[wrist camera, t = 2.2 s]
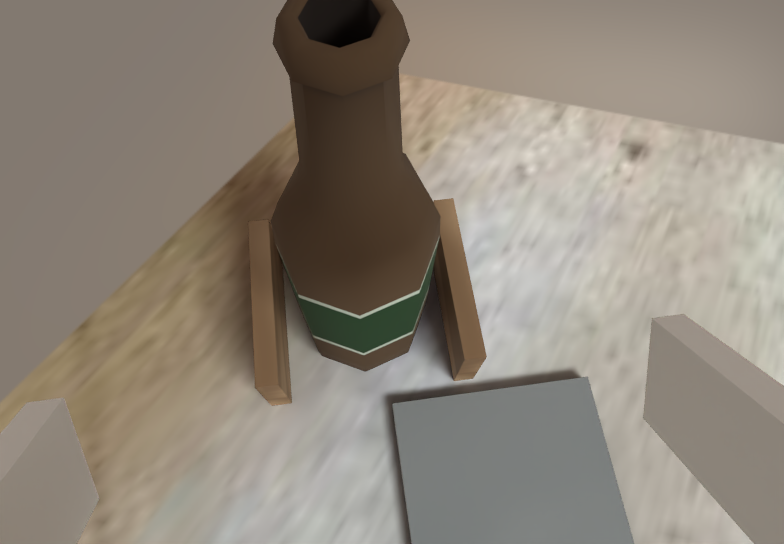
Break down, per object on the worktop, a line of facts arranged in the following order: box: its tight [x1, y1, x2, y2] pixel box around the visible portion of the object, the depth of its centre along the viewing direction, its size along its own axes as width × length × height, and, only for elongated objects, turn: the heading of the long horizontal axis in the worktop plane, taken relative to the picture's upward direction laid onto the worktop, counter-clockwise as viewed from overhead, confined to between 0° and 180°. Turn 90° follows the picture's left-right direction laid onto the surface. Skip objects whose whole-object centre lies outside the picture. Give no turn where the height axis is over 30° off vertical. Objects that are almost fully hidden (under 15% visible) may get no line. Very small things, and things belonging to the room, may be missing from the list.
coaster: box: [392, 377, 634, 544], centre depth 32 cm, size 12×12×1 cm
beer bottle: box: [271, 0, 441, 372], centre depth 26 cm, size 8×8×24 cm
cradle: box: [248, 198, 486, 406], centre depth 35 cm, size 12×11×5 cm
